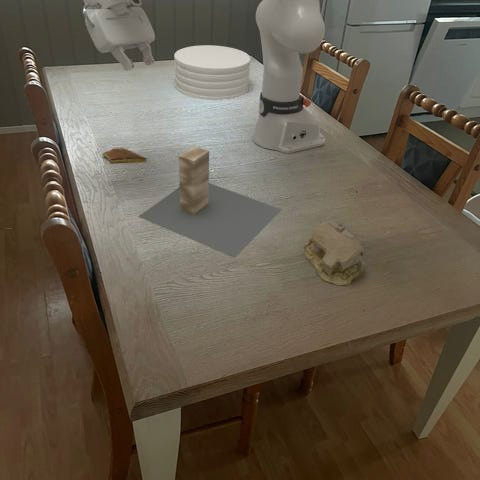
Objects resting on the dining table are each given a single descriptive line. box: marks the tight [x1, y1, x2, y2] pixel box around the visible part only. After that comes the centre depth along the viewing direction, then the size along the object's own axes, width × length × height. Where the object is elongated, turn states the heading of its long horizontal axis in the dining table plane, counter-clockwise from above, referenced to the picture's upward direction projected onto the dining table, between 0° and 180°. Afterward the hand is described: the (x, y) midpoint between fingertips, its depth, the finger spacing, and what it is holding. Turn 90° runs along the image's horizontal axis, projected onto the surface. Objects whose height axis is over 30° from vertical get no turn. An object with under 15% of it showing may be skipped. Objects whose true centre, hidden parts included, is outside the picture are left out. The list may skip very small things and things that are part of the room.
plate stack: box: [173, 44, 251, 101], centre depth 175 cm, size 28×28×12 cm
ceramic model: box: [303, 219, 366, 286], centre depth 95 cm, size 14×11×10 cm
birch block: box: [178, 145, 210, 214], centre depth 107 cm, size 4×6×14 cm, turn 150°
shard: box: [102, 146, 148, 164], centre depth 128 cm, size 11×8×2 cm
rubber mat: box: [137, 182, 282, 258], centre depth 110 cm, size 26×22×1 cm
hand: (141, 66), depth 102 cm, fingers open, 8 cm apart
